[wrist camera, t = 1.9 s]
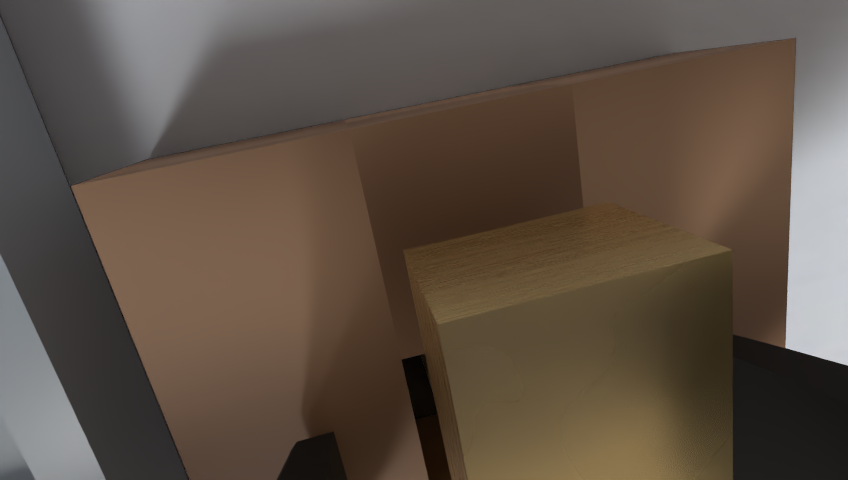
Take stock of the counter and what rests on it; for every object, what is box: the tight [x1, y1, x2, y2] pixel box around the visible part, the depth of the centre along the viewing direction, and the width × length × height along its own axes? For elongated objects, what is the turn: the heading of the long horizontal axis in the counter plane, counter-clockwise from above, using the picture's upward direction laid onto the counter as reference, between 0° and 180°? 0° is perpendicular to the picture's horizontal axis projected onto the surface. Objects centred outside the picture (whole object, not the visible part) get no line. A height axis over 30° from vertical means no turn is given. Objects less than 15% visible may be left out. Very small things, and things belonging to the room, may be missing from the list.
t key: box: [403, 202, 733, 480], centre depth 9 cm, size 8×3×7 cm, turn 11°
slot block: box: [71, 38, 796, 480], centre depth 11 cm, size 11×11×3 cm
